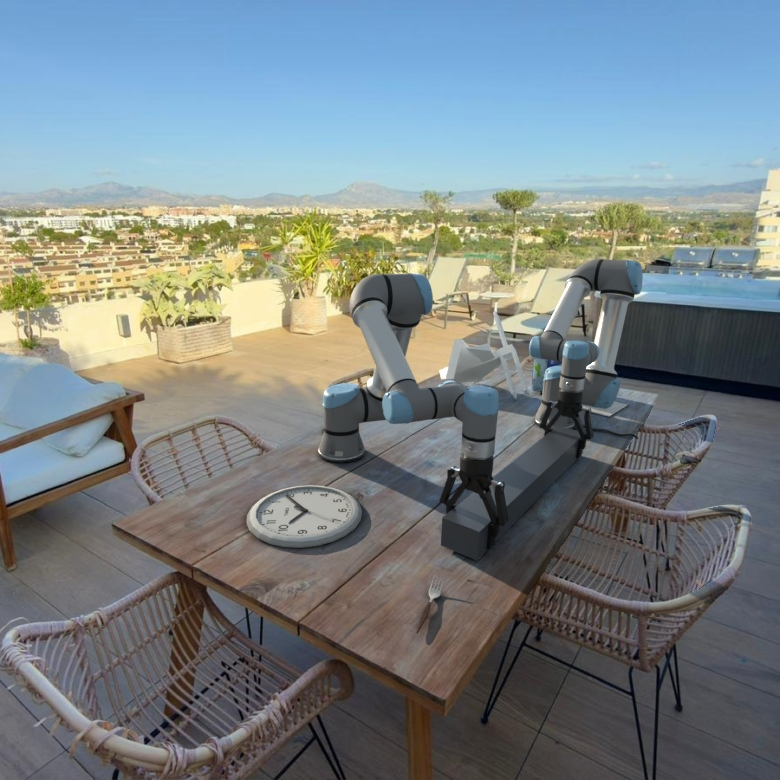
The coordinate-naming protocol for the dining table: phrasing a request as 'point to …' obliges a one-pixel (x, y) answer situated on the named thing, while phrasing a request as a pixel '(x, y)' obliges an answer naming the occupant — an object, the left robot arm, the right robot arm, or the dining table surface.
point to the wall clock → (304, 516)
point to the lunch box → (541, 372)
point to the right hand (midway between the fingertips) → (563, 452)
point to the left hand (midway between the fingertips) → (470, 538)
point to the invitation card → (609, 411)
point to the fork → (433, 594)
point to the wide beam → (511, 492)
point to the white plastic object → (482, 362)
